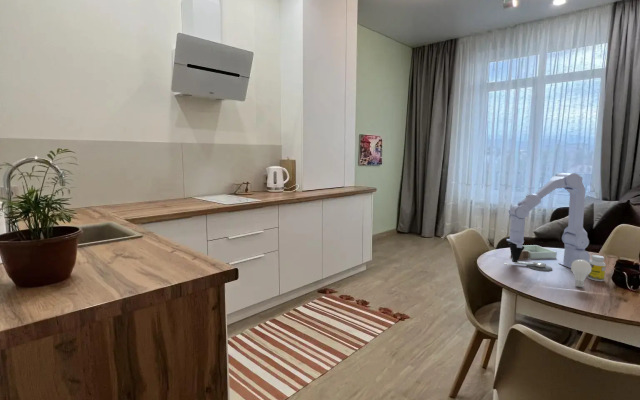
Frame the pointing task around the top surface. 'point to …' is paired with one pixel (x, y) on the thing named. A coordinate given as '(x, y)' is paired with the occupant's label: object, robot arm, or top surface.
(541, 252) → the tray
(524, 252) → the brown wooden block
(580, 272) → the lightbulb
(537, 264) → the crank
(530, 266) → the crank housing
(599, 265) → the supplement bottle
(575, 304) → the top surface
